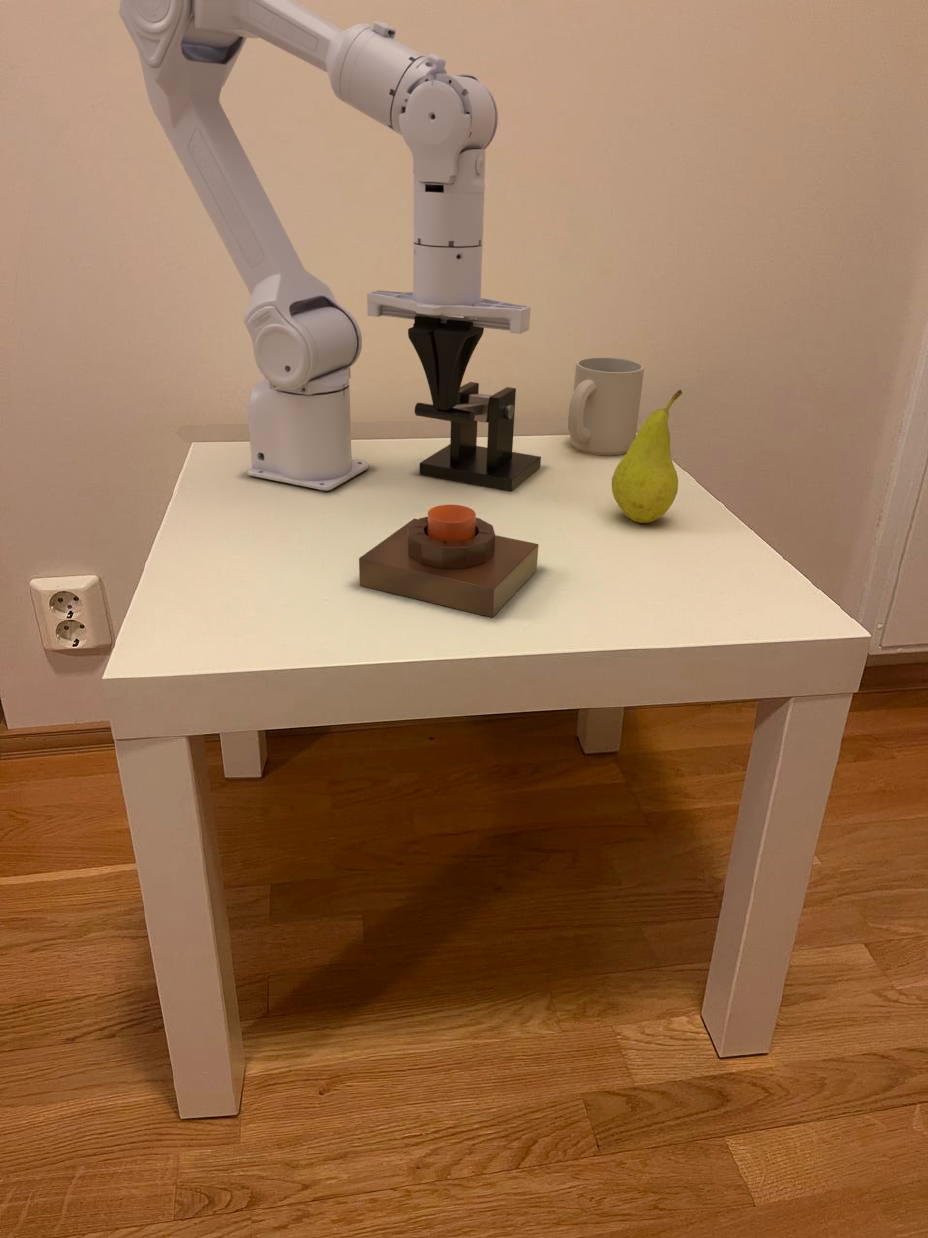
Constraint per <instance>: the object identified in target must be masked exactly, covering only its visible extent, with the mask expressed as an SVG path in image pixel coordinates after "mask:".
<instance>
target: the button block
mask: <svg viewBox="0 0 928 1238" xmlns="http://www.w3.org/2000/svg"><path fill="white" fill-rule="evenodd" d="M539 546H540V545H539V544H538V543H535V542H531V541H526V540H521V539H520V540H519V539H516V538H511V537H506V536H502V535H497V534H496V532H495V530H494V526H493V525H492V524H491V523H489V522H487V521H485V520H483V519H482V518H480V517H476V524H475V537H474V538H473V539H469V540H465V541H442V540H437V539H432V538H431V537H429V536H428V516H424V517H419V518H413V519H412V520H410V521H409V522H407V523H406V524H404V525H403V526H401V527H400V528H399V529H397V530H396V531H395V532H394V533H391V534H390V535H389V536H388V537H386V538H385V539H384V540H382V541H381V542H379V543H378V544H376V546H374V547H372V548H371V549H369V550H368V551H366V553H364V554H363V555H361V556H360V557H358V575H359V577H358V578H359V586H361V587H365V588H369V589H372V590H373V589H374V590H377V591H381V592H384V593H385V592H386V593H389V594H393V595H398V596H402V597H406V598H411V599H415V600H419V601H422V602H423V601H424V602H427V603H431V604H435V605H440V606H444V607H448V608H452V609H456V610H460V611H465V612H467V613H468V612H469V613H473V614H477V615H481V616H485V617H490V618H493V617H495V615H496V614H497V613H498V612H499V611H500V610H501V609H502V608H503V607H504V606H505V605H506V603H508V601H510V599H512V597H513V596H514V595H515V594H516V593H517V592H518V591H519V590H520V589H521V588H522V586H524V584H525V583H526V582H527V581H528V580H529V579H530V578H531V577H532V576H533V575H534V574H535V573H536V571H538V557H539Z"/></svg>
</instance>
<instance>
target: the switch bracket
mask: <svg viewBox="0 0 928 1238" xmlns="http://www.w3.org/2000/svg"><path fill="white" fill-rule="evenodd" d="M479 390H480V384H479V382H475V381H474V382H473V381H469V382H466V383H465V384H463V385H461V386H460V390H459V394H458V399H457V404H456V405H460V404H468V400H469V395H472V394H479ZM516 394H517V388H515V387H510V386H506V387H504V388H503V389H501V390H499V391H497V392H496V393H494V394H491V395H492V396H490V397H489V419H488V422H487V442H486V443H487V445H486V446H481V445H478V444H477V443H478V421H474V422H473V424H465V423H458V422H452V421H450V442H449V443H450V444H448V445H446V446H445V447H443V448H441V449H440V450H438V451H436V452H435V453H433V454H431V455H430V456H428V457H427V458H425V459H424V460H422V461H420V462H419V475H422V476H427V477H433V478H438V479H444V480H449V481H454V482H460V483H465V484H470V485H475V486H480V487H486V488H492V489H497V490H503V491H507V492H512V491H514V490H515V489H516V488H518V486H520V485H521V484H523V482H524V481H526V480H527V479H528V478H530V477H531V476H532V475H533V474H534V473H535V472H537V471H538V470H539V469H541V462H542V456H538V455H533V454H529V453H528V454H527V453H521V452H515V451H513V447H514V429H515V411H516V396H517V395H516Z"/></svg>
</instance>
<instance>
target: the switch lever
mask: <svg viewBox="0 0 928 1238" xmlns="http://www.w3.org/2000/svg"><path fill="white" fill-rule="evenodd" d="M492 395H493V394H486V393H478V394H472V395H469V400H468V404H460V405H456V406H454V407H453V408H451V409H449V410H441V409H434V408H433V403H432V404H431V403H425V402H417V403H416V404H415V406H414V415H415V416H416V417H421V418H422V417H423V418H428V419H433V420H441V421H447V422H451V421H452V422H458V423H465V424H473V422H474V421H477V422H481V423H486V424H488V419H489V397H490V396H492Z"/></svg>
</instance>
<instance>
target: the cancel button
mask: <svg viewBox="0 0 928 1238" xmlns="http://www.w3.org/2000/svg"><path fill="white" fill-rule="evenodd" d="M427 517H428V536H429V537H431V538H432V539H437V540H442V541H465V540H469V539H473V538H474V537H475V524H476V518H477V513H476V511H475V510H474V509H473V508H471V507H469V506H465V505H460V504H441V505H437V506H436V505H435V506H434V507H432V508H429V510H428V511H427Z"/></svg>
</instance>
